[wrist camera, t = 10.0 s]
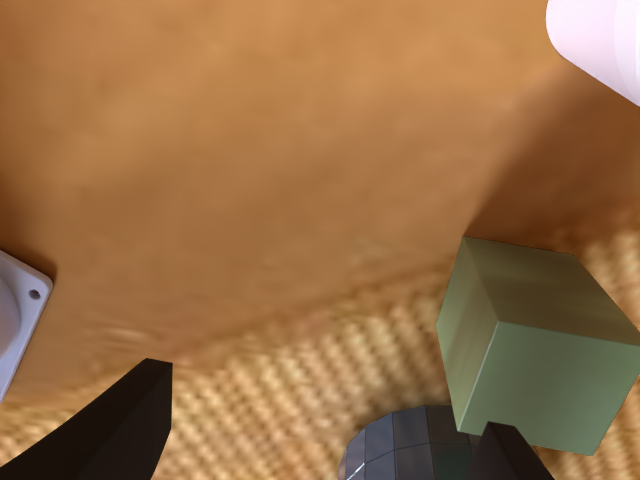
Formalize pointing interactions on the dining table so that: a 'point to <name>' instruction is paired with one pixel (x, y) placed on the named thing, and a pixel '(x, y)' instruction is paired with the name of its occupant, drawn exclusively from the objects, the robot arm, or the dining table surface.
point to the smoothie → (600, 40)
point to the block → (534, 346)
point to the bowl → (411, 447)
